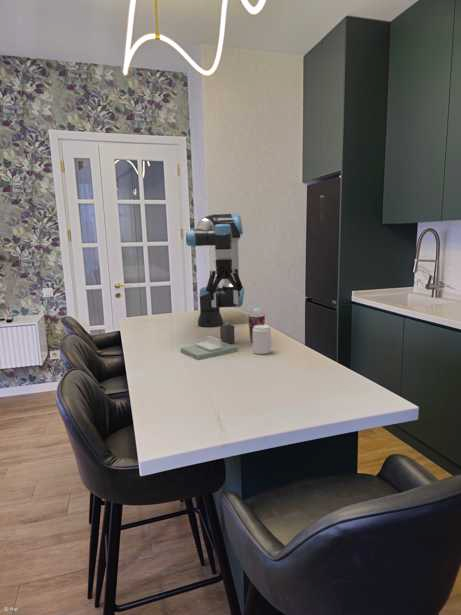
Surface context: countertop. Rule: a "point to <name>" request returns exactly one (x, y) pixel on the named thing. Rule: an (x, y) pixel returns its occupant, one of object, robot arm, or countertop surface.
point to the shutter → (211, 344)
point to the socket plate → (202, 353)
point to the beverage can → (261, 339)
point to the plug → (227, 333)
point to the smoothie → (255, 319)
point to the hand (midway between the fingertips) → (225, 305)
